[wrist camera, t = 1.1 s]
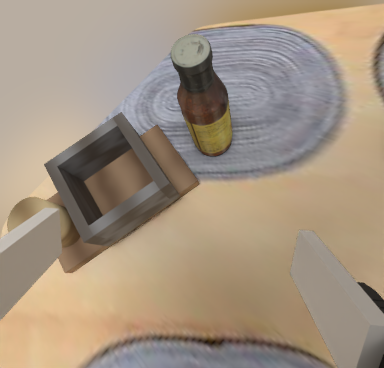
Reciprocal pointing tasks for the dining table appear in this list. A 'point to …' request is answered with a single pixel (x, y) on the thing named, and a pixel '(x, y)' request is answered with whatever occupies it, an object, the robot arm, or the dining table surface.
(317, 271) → the robot arm
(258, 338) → the dining table surface
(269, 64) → the dining table surface
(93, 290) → the dining table surface
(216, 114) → the sauce bottle
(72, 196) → the post socket
